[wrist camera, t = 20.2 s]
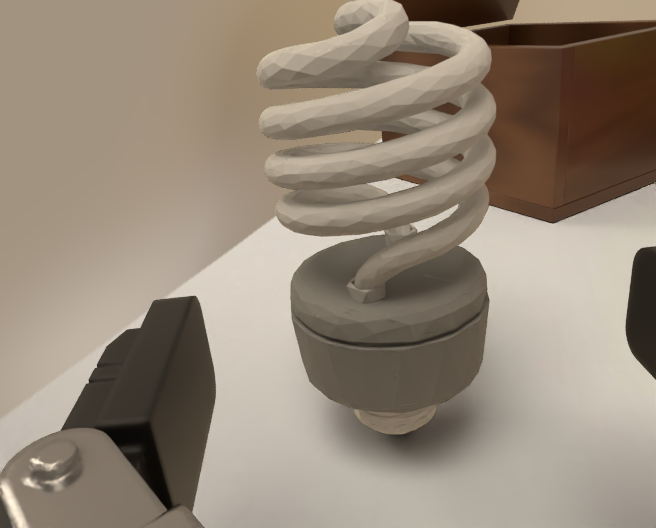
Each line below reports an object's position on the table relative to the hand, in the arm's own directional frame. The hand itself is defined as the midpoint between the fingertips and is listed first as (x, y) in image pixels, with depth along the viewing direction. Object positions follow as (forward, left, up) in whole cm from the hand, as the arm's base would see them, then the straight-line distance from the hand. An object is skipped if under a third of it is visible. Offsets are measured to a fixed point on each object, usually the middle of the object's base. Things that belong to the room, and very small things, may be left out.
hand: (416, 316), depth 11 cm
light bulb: (-1, +5, -7) cm, 8 cm away
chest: (+7, +31, -7) cm, 32 cm away
